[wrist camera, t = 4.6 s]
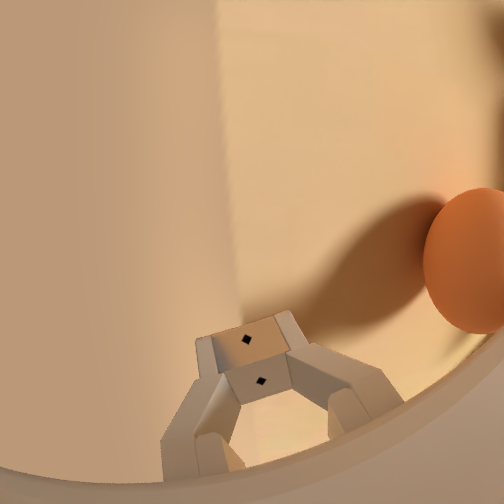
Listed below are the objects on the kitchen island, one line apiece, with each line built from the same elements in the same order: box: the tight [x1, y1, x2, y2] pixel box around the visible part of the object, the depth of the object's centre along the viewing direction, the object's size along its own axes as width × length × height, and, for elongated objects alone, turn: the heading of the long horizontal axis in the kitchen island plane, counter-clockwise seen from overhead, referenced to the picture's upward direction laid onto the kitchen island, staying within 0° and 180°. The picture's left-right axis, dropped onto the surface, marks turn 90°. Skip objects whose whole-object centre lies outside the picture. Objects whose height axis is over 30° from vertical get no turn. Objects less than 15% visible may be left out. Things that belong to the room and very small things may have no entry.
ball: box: [423, 188, 504, 334], centre depth 8 cm, size 6×6×6 cm
